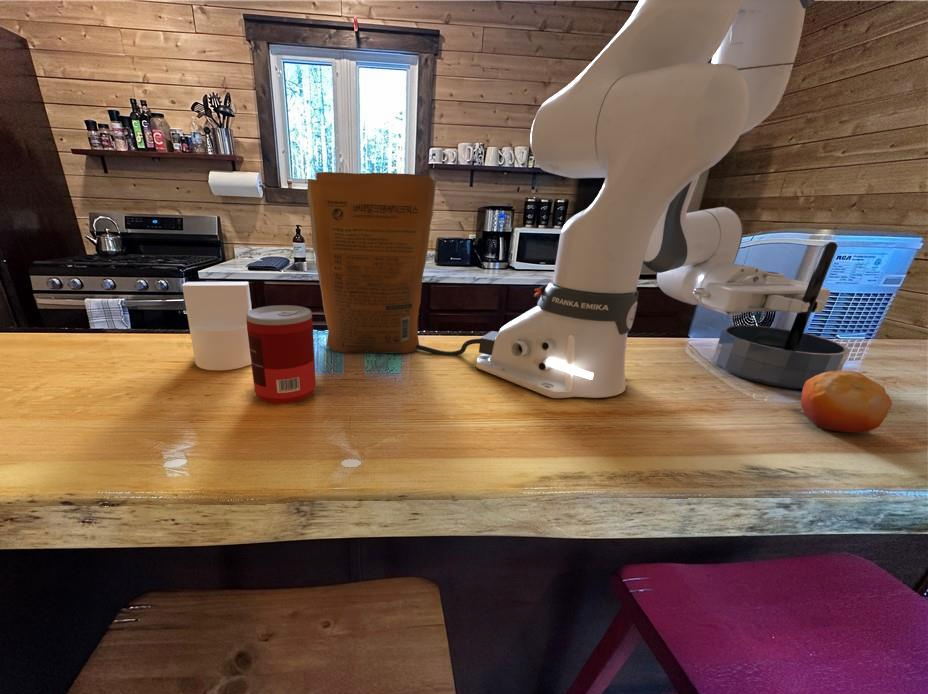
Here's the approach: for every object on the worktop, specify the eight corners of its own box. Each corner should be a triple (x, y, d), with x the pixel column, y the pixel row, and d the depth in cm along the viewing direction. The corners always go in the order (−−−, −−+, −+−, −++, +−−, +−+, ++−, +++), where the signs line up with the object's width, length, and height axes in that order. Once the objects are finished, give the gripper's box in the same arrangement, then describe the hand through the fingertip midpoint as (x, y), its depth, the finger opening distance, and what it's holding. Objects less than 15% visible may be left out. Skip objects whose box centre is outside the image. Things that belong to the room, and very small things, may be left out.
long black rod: (762, 366, 71) (809, 241, 63) (764, 358, 75) (809, 239, 67) (803, 374, 68) (858, 244, 60) (803, 366, 72) (854, 242, 64)
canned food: (327, 387, 60) (324, 309, 56) (289, 410, 53) (281, 323, 49) (283, 377, 63) (277, 302, 59) (242, 397, 56) (231, 314, 52)
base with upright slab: (189, 371, 64) (174, 289, 59) (202, 352, 72) (190, 278, 67) (254, 368, 66) (245, 289, 61) (259, 349, 74) (251, 278, 69)
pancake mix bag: (429, 357, 73) (439, 174, 62) (315, 355, 72) (304, 168, 61) (426, 345, 80) (434, 176, 69) (321, 343, 78) (312, 171, 67)
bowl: (705, 372, 72) (716, 337, 69) (718, 350, 83) (728, 320, 81) (836, 402, 62) (853, 362, 60) (830, 372, 74) (844, 338, 72)
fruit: (848, 402, 59) (891, 364, 52) (864, 453, 54) (913, 418, 48) (778, 392, 61) (810, 355, 55) (787, 440, 57) (824, 406, 50)
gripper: (691, 272, 76) (765, 287, 63) (784, 272, 80) (871, 286, 68) (681, 307, 78) (751, 329, 66) (772, 306, 83) (853, 326, 70)
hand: (812, 307), depth 67 cm, fingers closed on long black rod
